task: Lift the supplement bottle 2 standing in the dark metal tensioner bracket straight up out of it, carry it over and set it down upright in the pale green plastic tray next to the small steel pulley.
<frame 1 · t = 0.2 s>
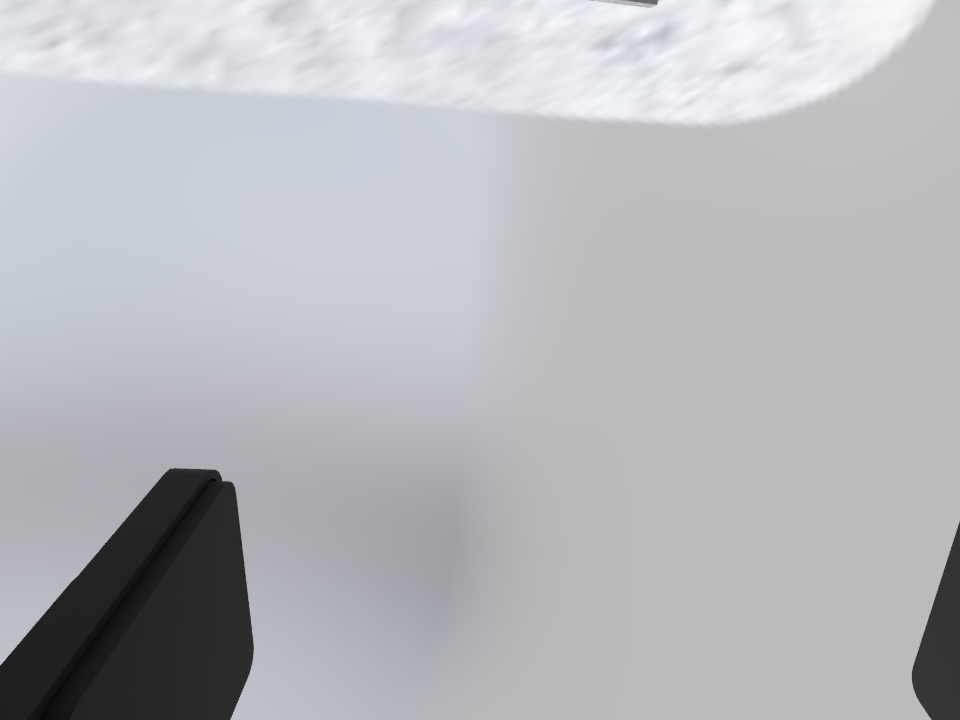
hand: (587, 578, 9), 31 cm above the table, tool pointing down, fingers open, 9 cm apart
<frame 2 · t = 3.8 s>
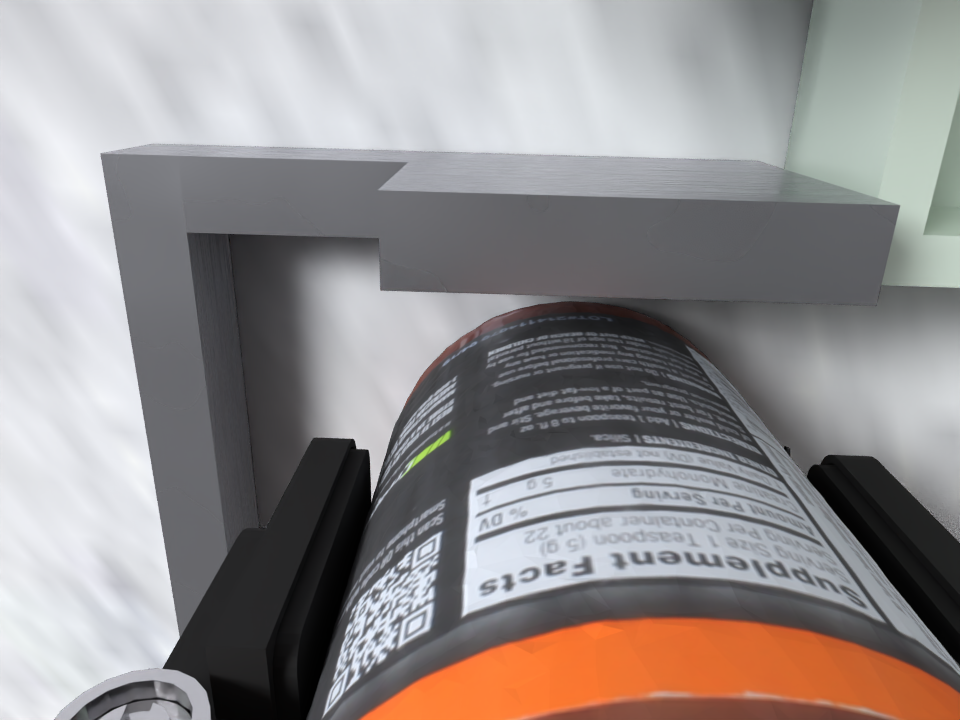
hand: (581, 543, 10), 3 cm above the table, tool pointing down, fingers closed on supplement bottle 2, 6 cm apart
supplement bottle 2: (564, 447, 13), on the table, touching gripper
tensioner bracket: (565, 453, 12), on the table
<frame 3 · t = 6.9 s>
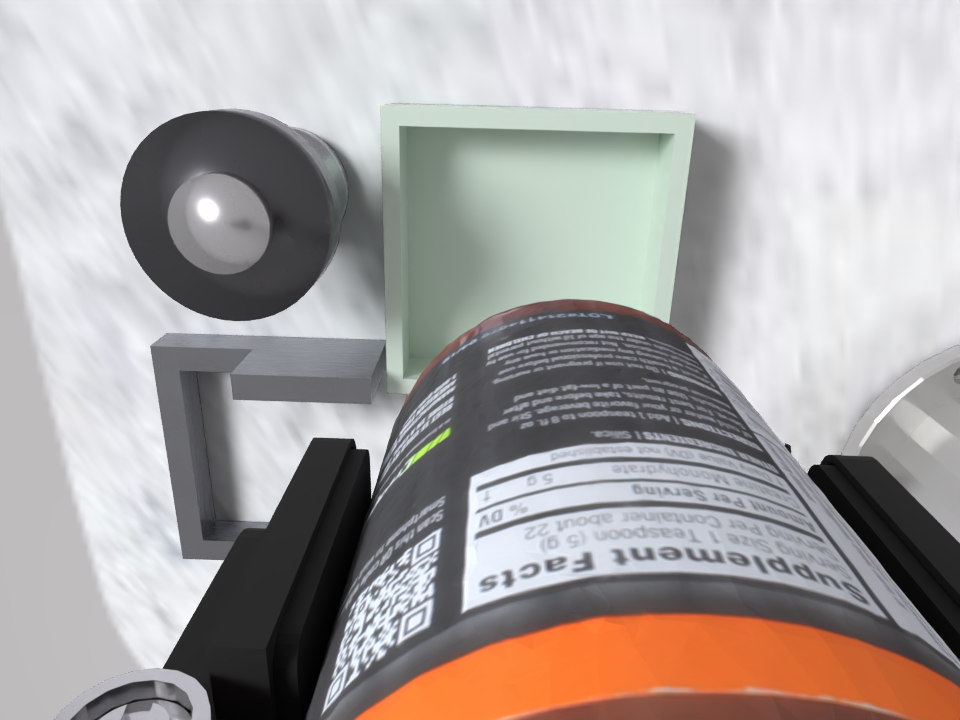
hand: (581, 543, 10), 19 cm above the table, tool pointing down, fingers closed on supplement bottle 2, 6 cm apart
pulley: (290, 187, 27), on the table
supplement bottle 2: (564, 445, 13), point 16 cm above the table, touching gripper
tensioner bracket: (331, 446, 31), on the table
tray: (526, 247, 27), on the table
when the fingers open (5 cm above the table, at t = 10.2 s): supplement bottle 2 drops 1 cm, resting on tray.
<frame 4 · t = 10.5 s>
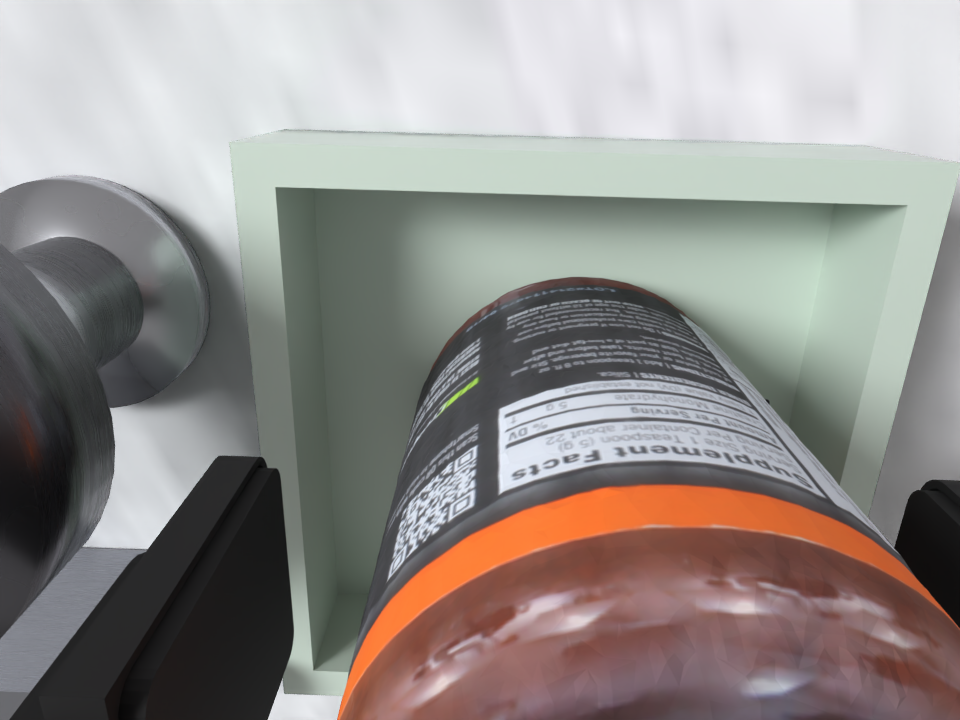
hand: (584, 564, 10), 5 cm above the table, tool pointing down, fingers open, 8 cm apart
pulley: (96, 291, 14), on the table
supplement bottle 2: (571, 411, 14), resting on tray
tensioner bracket: (211, 717, 18), on the table
tray: (554, 400, 14), on the table
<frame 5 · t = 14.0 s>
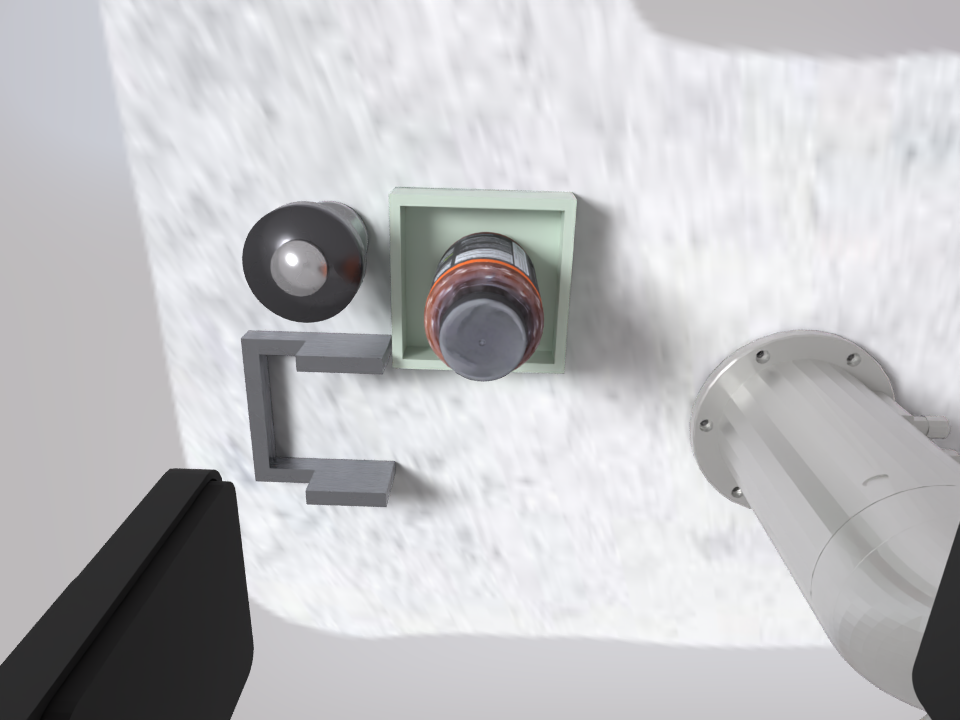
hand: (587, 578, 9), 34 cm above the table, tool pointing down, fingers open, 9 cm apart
pulley: (331, 238, 42), on the table
supplement bottle 2: (486, 277, 43), resting on tray
tensioner bracket: (355, 406, 46), on the table
tray: (481, 275, 43), on the table
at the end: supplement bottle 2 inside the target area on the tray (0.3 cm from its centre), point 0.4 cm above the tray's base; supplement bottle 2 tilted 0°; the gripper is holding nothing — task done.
